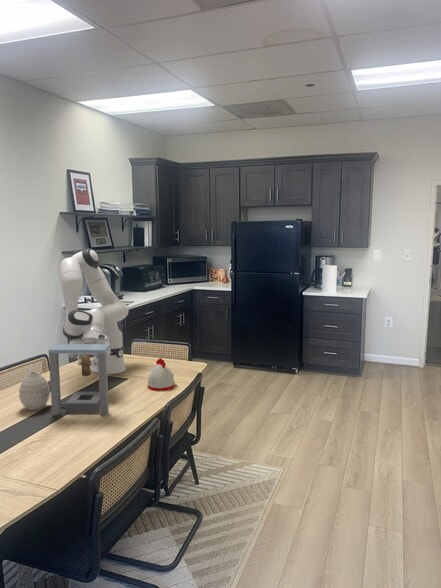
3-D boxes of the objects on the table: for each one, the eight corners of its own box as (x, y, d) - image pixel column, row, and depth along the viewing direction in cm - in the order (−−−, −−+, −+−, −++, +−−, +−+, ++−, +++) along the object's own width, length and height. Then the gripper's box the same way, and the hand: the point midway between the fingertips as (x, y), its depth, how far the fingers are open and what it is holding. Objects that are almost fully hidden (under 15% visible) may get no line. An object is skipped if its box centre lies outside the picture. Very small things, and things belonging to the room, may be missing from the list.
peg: (80, 374, 204) (79, 356, 203) (88, 372, 207) (87, 354, 205) (84, 376, 201) (83, 357, 200) (92, 374, 204) (91, 356, 203)
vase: (21, 404, 200) (18, 370, 198) (50, 401, 205) (49, 367, 202) (19, 415, 189) (16, 379, 186) (50, 411, 193) (48, 375, 191)
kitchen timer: (156, 393, 216) (155, 364, 213) (142, 385, 226) (142, 357, 224) (179, 387, 224) (179, 359, 222) (165, 379, 235) (165, 353, 233)
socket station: (65, 400, 206) (62, 340, 201) (115, 400, 206) (113, 340, 201) (52, 415, 189) (48, 349, 185) (107, 415, 189) (104, 350, 185)
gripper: (68, 335, 209) (61, 361, 201) (110, 336, 208) (105, 361, 200) (72, 342, 214) (65, 367, 206) (113, 342, 213) (108, 368, 205)
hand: (85, 364), depth 203 cm, fingers closed on peg, 4 cm apart
